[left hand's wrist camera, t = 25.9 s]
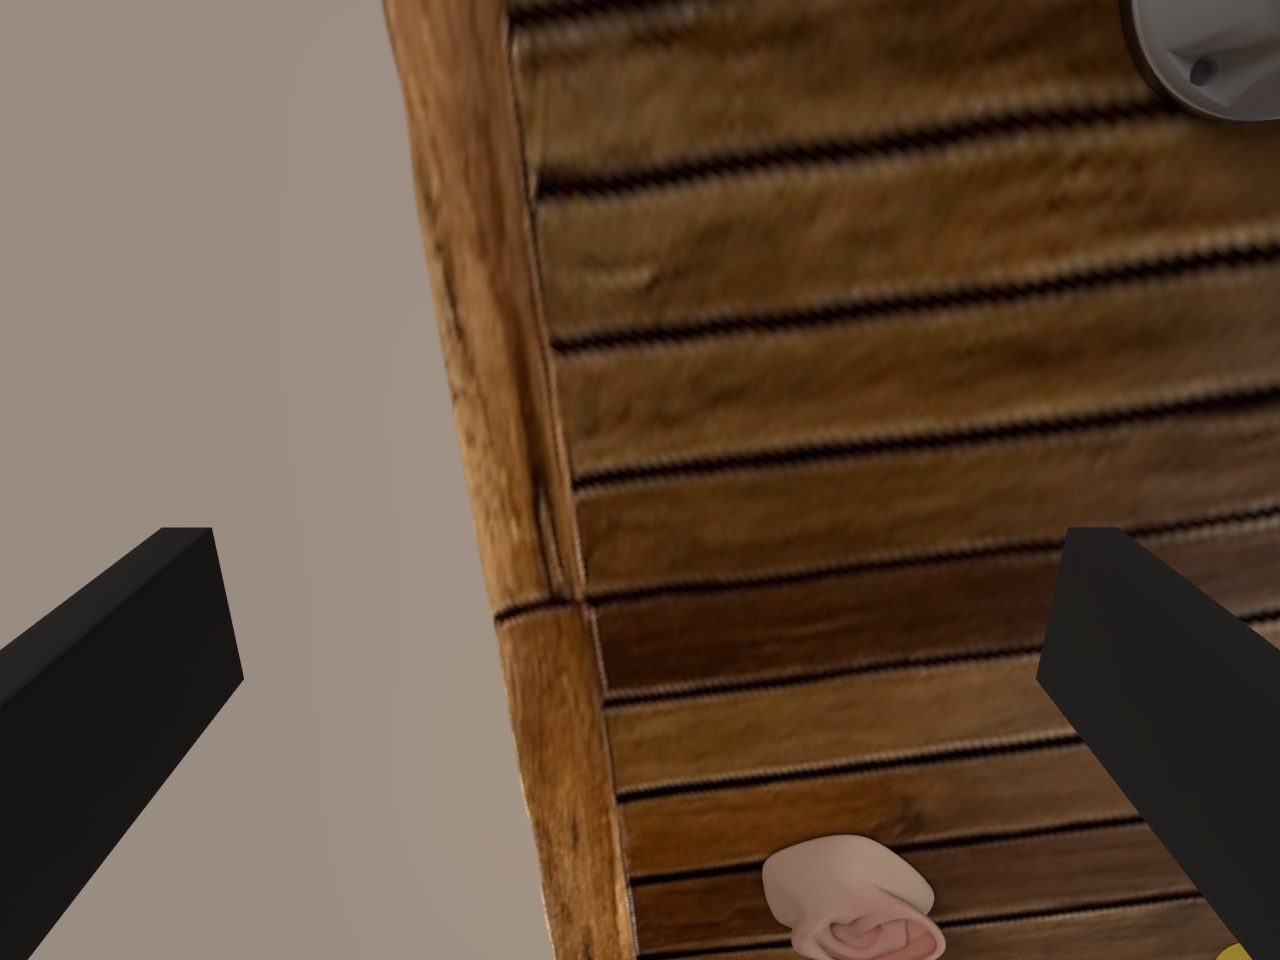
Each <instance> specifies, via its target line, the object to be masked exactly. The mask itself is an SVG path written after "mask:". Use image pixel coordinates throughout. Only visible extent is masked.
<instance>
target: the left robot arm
mask: <svg viewBox="0 0 1280 960" xmlns="http://www.w3.org/2000/svg"><path fill="white" fill-rule="evenodd" d="M1119 5H1120V14H1121V22H1122V26H1123V31H1124V36H1125V39H1126V42H1127V45H1128V48H1129V51H1130V53H1131V55H1132V57H1133V60H1134V62H1135V64H1136V65H1137V67H1138V69H1139V70H1140V72H1141V74H1142V75H1143V77H1144V78H1145V79H1146V81H1147V82H1148V83H1149V84H1150V86H1151V87H1152V88H1153V89H1154V90H1155V91H1156V92H1157V93H1158V94H1159V95H1160V96H1162V97H1163V98H1164V99H1165V100H1167V101H1168V102H1169V103H1171V104H1172V105H1174V106H1176V107H1177V108H1179V109H1181V110H1183V111H1185V112H1187V113H1190V114H1192V115H1195V116H1198V117H1201V118H1204V119H1209V120H1215V121H1223V122H1247V121H1261V120H1270V119H1277V118H1280V0H1119ZM243 680H244V676H243V671H242V667H241V662H240V657H239V653H238V648H237V643H236V639H235V634H234V629H233V625H232V620H231V615H230V610H229V606H228V601H227V596H226V592H225V587H224V582H223V578H222V573H221V568H220V564H219V559H218V554H217V550H216V545H215V540H214V536H213V531H212V528H161V529H159V530H158V531H157V532H155V533H154V534H153V535H151V536H150V537H149V538H147V539H146V540H145V541H143V542H142V543H141V544H140V545H138V546H137V547H136V548H134V549H133V550H132V551H130V552H129V553H128V554H126V555H125V556H124V557H122V558H121V559H120V560H118V561H117V562H116V563H114V564H113V565H112V566H111V567H109V568H108V569H107V570H105V571H104V572H103V573H101V574H100V575H99V576H97V577H96V578H95V579H93V580H92V581H91V582H89V583H88V584H87V585H86V586H84V587H83V588H82V589H80V590H79V591H78V592H76V593H75V594H74V595H72V596H71V597H70V598H68V599H67V600H66V601H64V602H63V603H62V604H60V605H59V606H58V607H57V608H55V609H54V610H53V611H51V612H50V613H49V614H47V615H46V616H45V617H43V618H42V619H41V620H39V621H38V622H37V623H35V624H34V625H33V626H31V627H30V628H29V629H28V630H26V631H25V632H24V633H22V634H21V635H20V636H18V637H17V638H16V639H14V640H13V641H12V642H10V643H9V644H8V645H6V646H5V647H4V648H2V649H1V650H0V960H28V959H29V957H30V956H31V955H32V954H33V952H34V951H35V950H36V948H37V947H38V946H39V945H40V943H41V942H42V941H43V939H44V938H45V937H46V935H47V934H48V933H49V932H50V930H51V929H52V928H53V926H54V925H55V924H56V922H57V921H58V920H59V919H60V917H61V916H62V915H63V913H64V912H65V911H66V909H67V908H68V907H69V906H70V904H71V903H72V902H73V900H74V899H75V898H76V896H77V895H78V894H79V893H80V891H81V890H82V889H83V887H84V886H85V885H86V883H87V882H88V881H89V880H90V878H91V877H92V876H93V874H94V873H95V872H96V870H97V869H98V868H99V867H100V865H101V864H102V863H103V861H104V860H105V859H106V857H107V856H108V855H109V854H110V852H111V851H112V850H113V848H114V847H115V846H116V845H117V843H118V842H119V841H120V839H121V838H122V837H123V835H124V834H125V833H126V832H127V830H128V829H129V828H130V826H131V825H132V824H133V822H134V821H135V820H136V819H137V817H138V816H139V815H140V813H141V812H142V811H143V809H144V808H145V807H146V806H147V804H148V803H149V802H150V800H151V799H152V798H153V796H154V795H155V794H156V793H157V791H158V790H159V789H160V787H161V786H162V785H163V783H164V782H165V781H166V780H167V778H168V777H169V776H170V774H171V773H172V772H173V771H174V769H175V768H176V767H177V765H178V764H179V763H180V761H181V760H182V759H183V757H184V756H185V755H186V754H187V752H188V751H189V750H190V748H191V747H192V746H193V745H194V743H195V742H196V741H197V739H198V738H199V737H200V735H201V734H202V733H203V732H204V730H205V729H206V728H207V726H208V725H209V724H210V722H211V721H212V720H213V719H214V717H215V716H216V715H217V713H218V712H219V711H220V709H221V708H222V707H223V706H224V704H225V703H226V702H227V700H228V699H229V698H230V696H231V695H232V694H233V693H234V691H235V690H236V689H237V687H238V686H239V685H240V684H241V682H242V681H243ZM1036 680H1037V681H1038V682H1039V684H1040V685H1041V686H1042V687H1043V689H1044V690H1045V691H1046V693H1047V694H1048V695H1049V697H1050V698H1051V699H1052V700H1053V702H1054V703H1055V704H1056V706H1057V707H1058V708H1059V709H1060V711H1061V712H1062V713H1063V715H1064V716H1065V717H1066V719H1067V720H1068V721H1069V722H1070V724H1071V725H1072V726H1073V728H1074V729H1075V730H1076V732H1077V733H1078V734H1079V735H1080V737H1081V738H1082V739H1083V741H1084V742H1085V743H1086V745H1087V746H1088V747H1089V748H1090V750H1091V751H1092V752H1093V754H1094V755H1095V756H1096V758H1097V759H1098V760H1099V761H1100V763H1101V764H1102V765H1103V767H1104V768H1105V769H1106V771H1107V772H1108V773H1109V774H1110V776H1111V777H1112V778H1113V780H1114V781H1115V782H1116V783H1117V785H1118V786H1119V787H1120V789H1121V790H1122V791H1123V793H1124V794H1125V795H1126V796H1127V798H1128V799H1129V800H1130V802H1131V803H1132V804H1133V806H1134V807H1135V808H1136V809H1137V811H1138V812H1139V813H1140V815H1141V816H1142V817H1143V819H1144V820H1145V821H1146V822H1147V824H1148V825H1149V826H1150V828H1151V829H1152V830H1153V832H1154V833H1155V834H1156V835H1157V837H1158V838H1159V839H1160V841H1161V842H1162V843H1163V845H1164V846H1165V847H1166V848H1167V850H1168V851H1169V852H1170V854H1171V855H1172V856H1173V858H1174V859H1175V860H1176V861H1177V863H1178V864H1179V865H1180V867H1181V868H1182V869H1183V870H1184V872H1185V873H1186V874H1187V876H1188V877H1189V878H1190V880H1191V881H1192V882H1193V883H1194V885H1195V886H1196V887H1197V889H1198V890H1199V891H1200V893H1201V894H1202V895H1203V896H1204V898H1205V899H1206V900H1207V902H1208V903H1209V904H1210V906H1211V907H1212V908H1213V909H1214V911H1215V912H1216V913H1217V915H1218V916H1219V917H1220V919H1221V920H1222V921H1223V922H1224V924H1225V925H1226V926H1227V928H1228V929H1229V930H1230V932H1231V933H1232V934H1233V935H1234V937H1235V938H1236V939H1237V941H1238V942H1239V943H1240V945H1241V946H1242V947H1243V948H1244V950H1245V951H1246V952H1247V954H1248V955H1249V956H1250V957H1251V959H1252V960H1280V650H1279V649H1278V648H1276V647H1275V646H1274V645H1272V644H1271V643H1270V642H1268V641H1267V640H1266V639H1264V638H1263V637H1262V636H1260V635H1259V634H1258V633H1256V632H1255V631H1254V630H1253V629H1251V628H1250V627H1249V626H1247V625H1246V624H1245V623H1243V622H1242V621H1241V620H1239V619H1238V618H1237V617H1235V616H1234V615H1233V614H1231V613H1230V612H1229V611H1227V610H1226V609H1225V608H1224V607H1222V606H1221V605H1220V604H1218V603H1217V602H1216V601H1214V600H1213V599H1212V598H1210V597H1209V596H1208V595H1206V594H1205V593H1204V592H1202V591H1201V590H1200V589H1198V588H1197V587H1196V586H1195V585H1193V584H1192V583H1191V582H1189V581H1188V580H1187V579H1185V578H1184V577H1183V576H1181V575H1180V574H1179V573H1177V572H1176V571H1175V570H1173V569H1172V568H1171V567H1169V566H1168V565H1167V564H1166V563H1164V562H1163V561H1162V560H1160V559H1159V558H1158V557H1156V556H1155V555H1154V554H1152V553H1151V552H1150V551H1148V550H1147V549H1146V548H1144V547H1143V546H1142V545H1140V544H1139V543H1138V542H1137V541H1135V540H1134V539H1133V538H1131V537H1130V536H1129V535H1127V534H1126V533H1125V532H1123V531H1122V530H1121V529H1119V528H1068V531H1067V535H1066V540H1065V545H1064V549H1063V554H1062V559H1061V564H1060V568H1059V573H1058V578H1057V582H1056V587H1055V592H1054V596H1053V601H1052V606H1051V610H1050V615H1049V620H1048V624H1047V629H1046V634H1045V639H1044V643H1043V648H1042V653H1041V657H1040V662H1039V667H1038V671H1037V676H1036Z"/></svg>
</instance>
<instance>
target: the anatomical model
mask: <svg viewBox="0 0 1280 960" xmlns="http://www.w3.org/2000/svg"><path fill="white" fill-rule="evenodd" d="M762 875H763V884H764V890H765V895H766V899H767V902H768V904H769V907H770V909H771V911H772V913H773V915H774V917H775V918H776V919H777V920H778V921H779V922H780V923H782V924H784V925H786V926H788V927H790V928H792V936H791V941H792V945H793V948H794V949H795V951H796V952H797V953H799V954H801V955H803V956H806V957H809V958H812V959H815V960H935V959H937V958H938V957H939V956H940V955H941V954H942V953H943V952H944V950H945V947H946V942H945V938H944V936H943V934H942V932H941V930H940V929H939V928H938V926H937V925H936V924H935V923H934V922H933V921H932V920H931V919H930V918H929V917H928V916H926V915H927V914H928V912H929V911H930V909H931V908H932V905H933V902H934V893H933V890H932V888H931V887H930V885H929V884H928V883H927V882H926V880H925V879H924V878H923V877H922V876H921V875H920V874H919V873H918V872H917V871H916V870H915V869H914V868H913V867H912V866H910V865H909V864H908V863H907V862H906V861H904V860H903V859H902V858H900V857H899V856H898V855H896V854H895V853H894V852H892V851H891V850H889V849H888V848H886V847H885V846H883V845H881V844H880V843H878V842H876V841H874V840H871V839H869V838H866V837H863V836H858V835H847V834H846V835H833V836H826V837H822V838H817V839H813V840H809V841H806V842H802V843H799V844H796V845H793V846H790V847H788V848H786V849H783V850H781V851H779V852H777V853H775V854H773V855H772V856H770V857H769V858H768V859H767V860H766V862H765V863H764V866H763V871H762Z"/></svg>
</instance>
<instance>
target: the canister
mask: <svg viewBox="0 0 1280 960" xmlns="http://www.w3.org/2000/svg"><path fill="white" fill-rule="evenodd" d="M1216 960H1252V959H1251V957H1250V956H1249V955H1248V954H1247V952H1246V951H1245V950H1244V948H1243V947H1242V946H1241V945H1240V943H1237V944H1234V945H1232V946H1230V947H1228V948H1226V949H1225V950H1224V951H1222V952H1221V953H1220V954H1219V955H1218V957H1217V958H1216Z"/></svg>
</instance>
